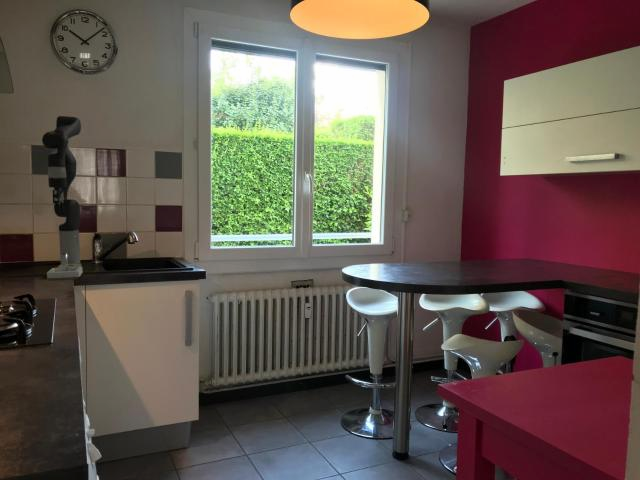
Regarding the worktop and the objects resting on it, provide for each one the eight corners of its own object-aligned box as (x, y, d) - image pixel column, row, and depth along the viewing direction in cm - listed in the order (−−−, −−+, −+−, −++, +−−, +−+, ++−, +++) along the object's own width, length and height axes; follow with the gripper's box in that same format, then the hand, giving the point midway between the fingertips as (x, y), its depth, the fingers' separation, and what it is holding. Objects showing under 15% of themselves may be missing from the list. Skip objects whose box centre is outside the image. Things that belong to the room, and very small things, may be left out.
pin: (62, 275, 233) (61, 252, 232) (68, 274, 234) (67, 252, 233) (61, 276, 231) (60, 253, 230) (68, 275, 232) (67, 253, 231)
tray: (52, 275, 237) (52, 268, 236) (82, 274, 240) (82, 267, 240) (47, 280, 225) (46, 272, 224) (78, 279, 229) (78, 271, 228)
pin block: (60, 271, 247) (60, 264, 246) (81, 271, 250) (81, 263, 249) (57, 275, 238) (56, 267, 238) (78, 274, 241) (78, 266, 241)
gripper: (51, 177, 248) (53, 211, 250) (45, 176, 235) (47, 213, 236) (68, 177, 250) (70, 211, 252) (63, 177, 237) (65, 213, 239)
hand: (59, 212), depth 244 cm, fingers open, 8 cm apart
